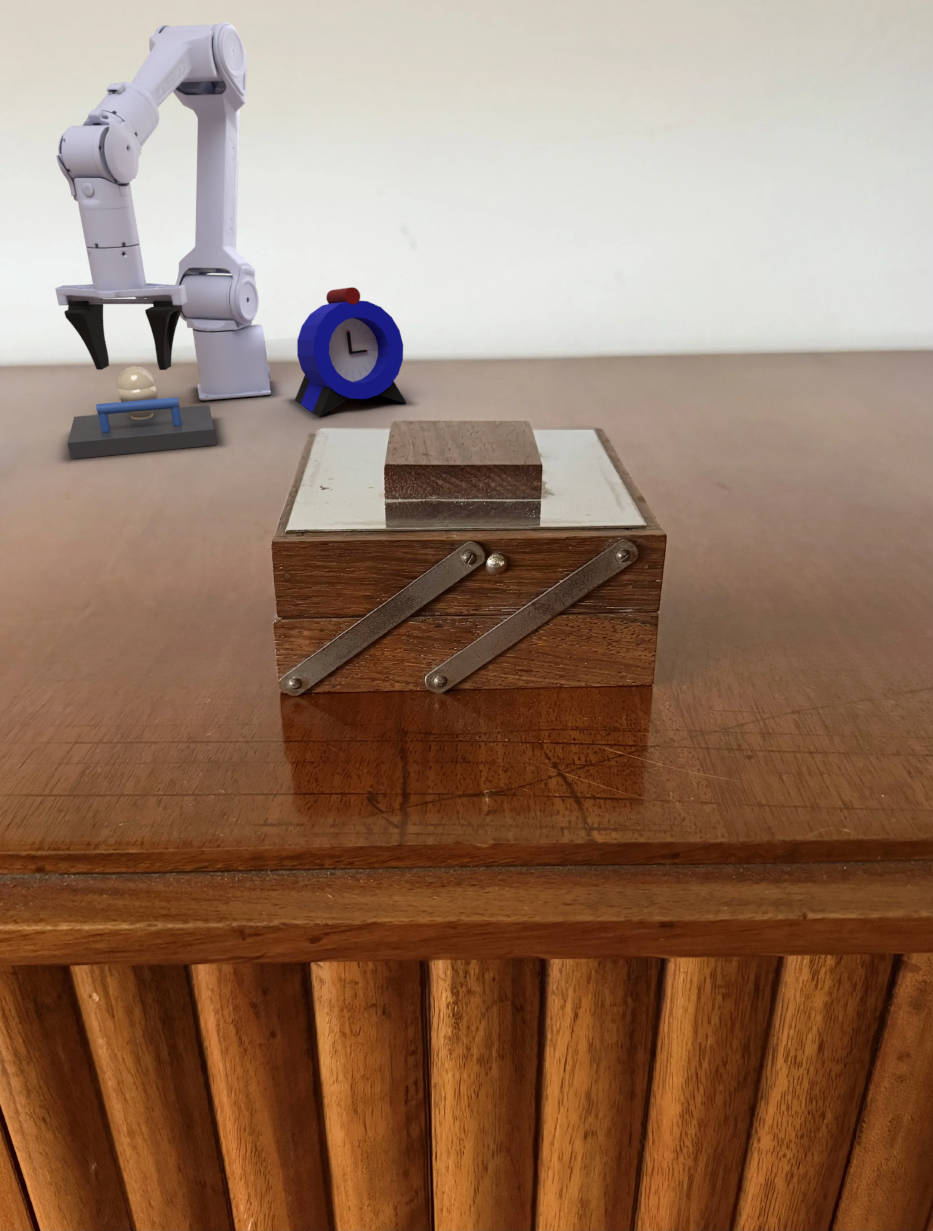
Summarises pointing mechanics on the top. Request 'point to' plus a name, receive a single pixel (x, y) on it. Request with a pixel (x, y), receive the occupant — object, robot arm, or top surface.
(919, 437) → the top surface
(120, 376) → the lidded jar
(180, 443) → the handle board
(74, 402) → the top surface
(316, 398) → the alarm clock
